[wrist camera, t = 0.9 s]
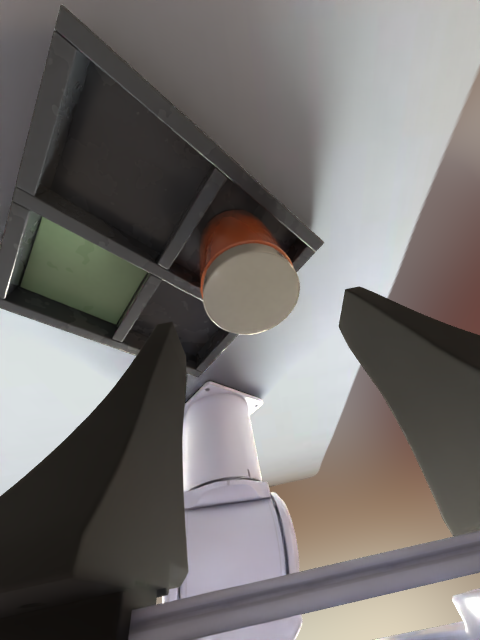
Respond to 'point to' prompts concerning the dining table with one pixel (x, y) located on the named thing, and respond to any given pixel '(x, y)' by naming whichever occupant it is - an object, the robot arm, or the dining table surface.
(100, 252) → the rack
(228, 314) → the jar
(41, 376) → the dining table surface
